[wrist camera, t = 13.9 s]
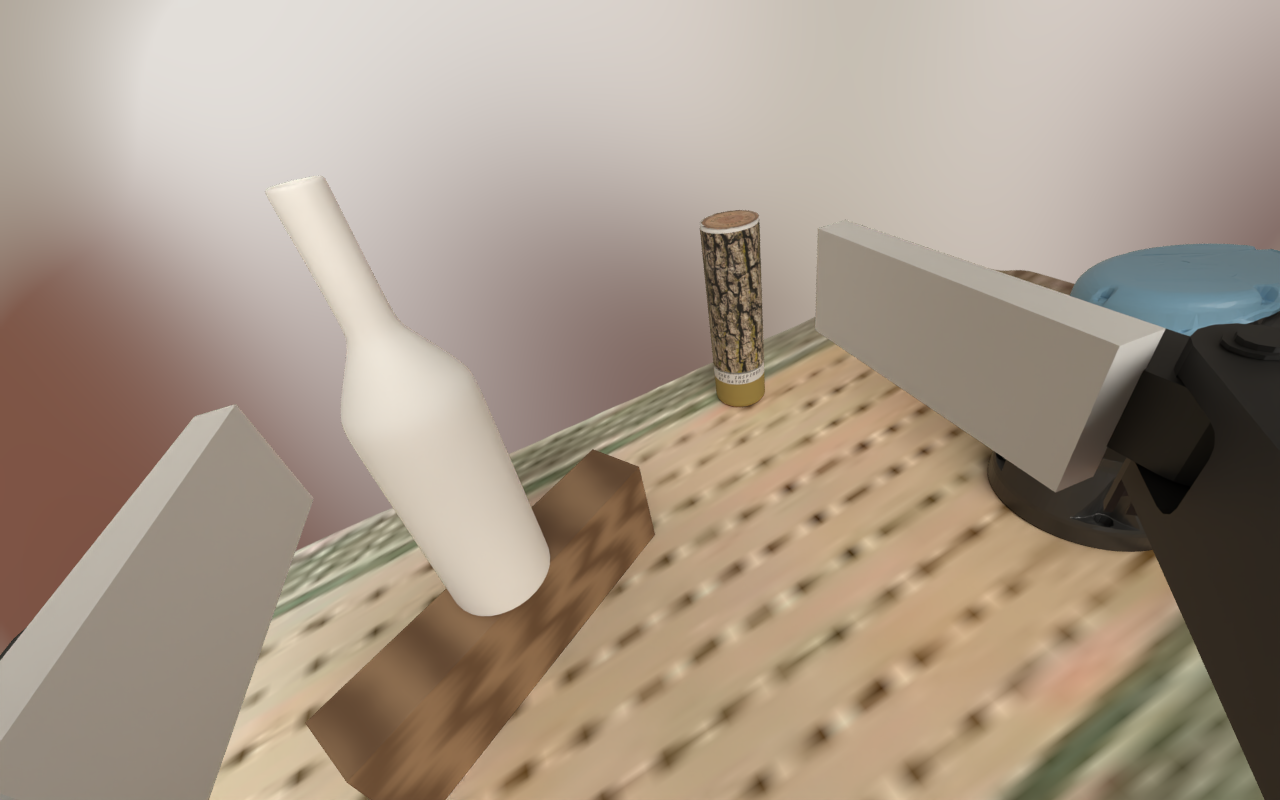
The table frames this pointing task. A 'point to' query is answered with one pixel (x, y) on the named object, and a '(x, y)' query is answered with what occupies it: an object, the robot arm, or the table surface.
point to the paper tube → (734, 304)
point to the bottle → (419, 422)
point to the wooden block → (483, 648)
